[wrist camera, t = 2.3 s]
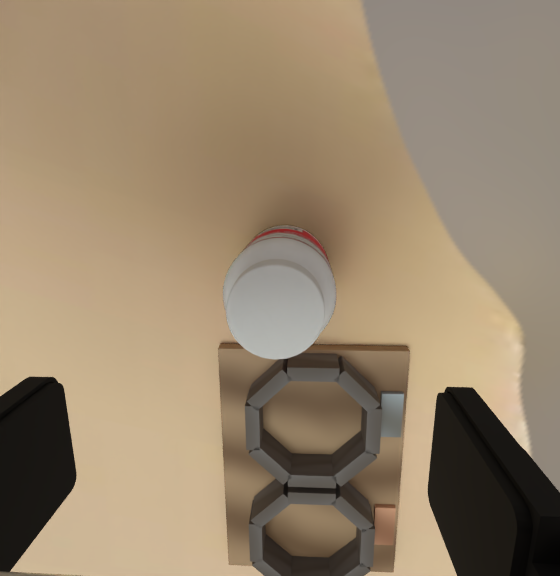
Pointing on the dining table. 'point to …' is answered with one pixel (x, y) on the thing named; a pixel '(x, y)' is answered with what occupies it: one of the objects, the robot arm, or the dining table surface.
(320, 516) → the socket board
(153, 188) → the dining table surface
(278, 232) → the pill bottle
